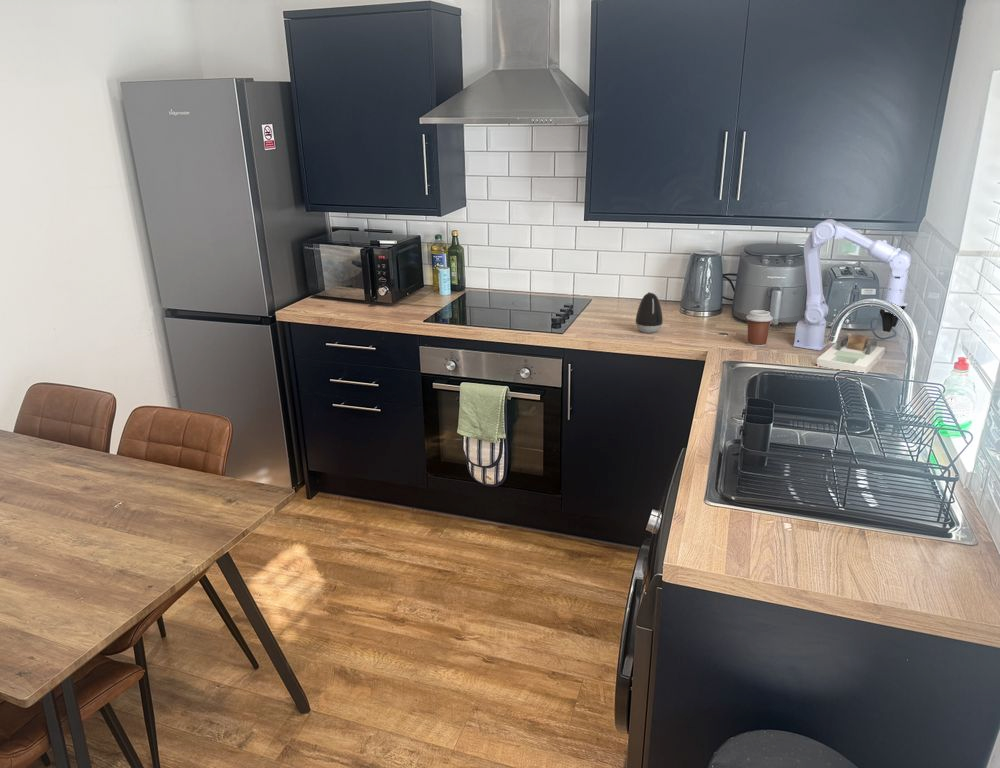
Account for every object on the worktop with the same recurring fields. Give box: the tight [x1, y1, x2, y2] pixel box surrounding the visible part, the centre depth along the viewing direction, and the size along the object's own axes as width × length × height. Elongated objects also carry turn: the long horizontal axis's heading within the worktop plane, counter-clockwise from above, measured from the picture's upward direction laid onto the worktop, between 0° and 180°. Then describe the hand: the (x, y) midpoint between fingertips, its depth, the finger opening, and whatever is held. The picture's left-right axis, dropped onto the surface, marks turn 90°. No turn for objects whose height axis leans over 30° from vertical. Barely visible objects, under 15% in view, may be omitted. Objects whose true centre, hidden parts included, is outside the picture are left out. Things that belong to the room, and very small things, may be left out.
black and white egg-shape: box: [635, 292, 664, 334], centre depth 282 cm, size 10×10×15 cm
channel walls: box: [836, 334, 878, 355], centre depth 249 cm, size 10×10×3 cm
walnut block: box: [847, 333, 869, 351], centre depth 250 cm, size 5×5×4 cm
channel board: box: [815, 341, 886, 374], centre depth 246 cm, size 15×26×2 cm, turn 142°
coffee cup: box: [745, 309, 774, 348], centre depth 264 cm, size 9×9×12 cm
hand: (889, 328), depth 246 cm, fingers open, 7 cm apart
